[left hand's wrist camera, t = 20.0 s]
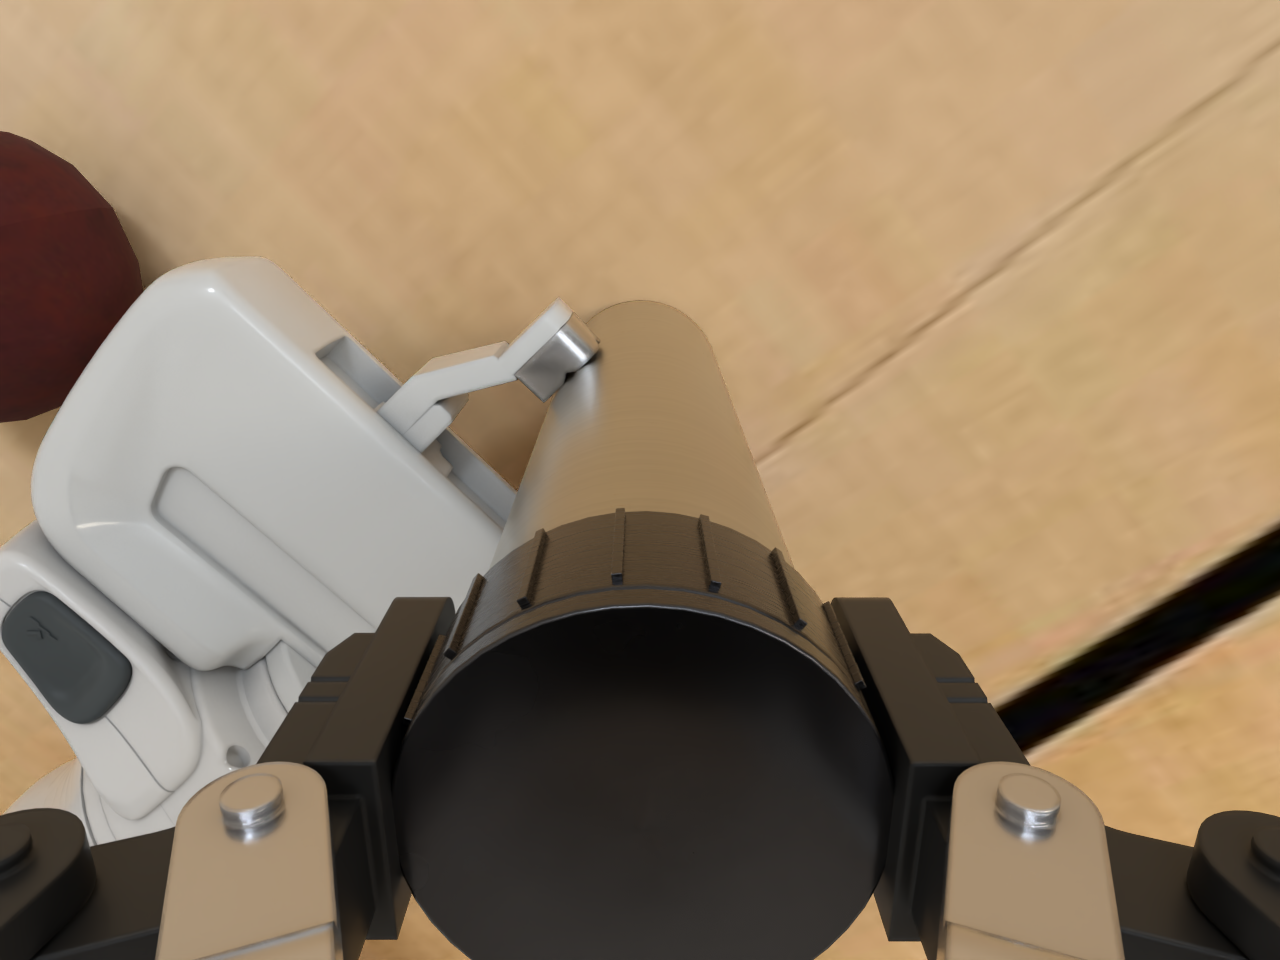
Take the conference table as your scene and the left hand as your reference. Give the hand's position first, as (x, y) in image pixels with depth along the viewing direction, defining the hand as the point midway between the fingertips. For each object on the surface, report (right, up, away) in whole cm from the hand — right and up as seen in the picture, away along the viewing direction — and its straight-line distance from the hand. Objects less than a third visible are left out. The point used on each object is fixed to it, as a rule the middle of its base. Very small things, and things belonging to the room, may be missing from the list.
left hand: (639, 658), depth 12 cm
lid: (0, -1, -3) cm, 3 cm away
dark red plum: (-17, +9, +15) cm, 24 cm away
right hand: (+1, +4, +9) cm, 10 cm away
